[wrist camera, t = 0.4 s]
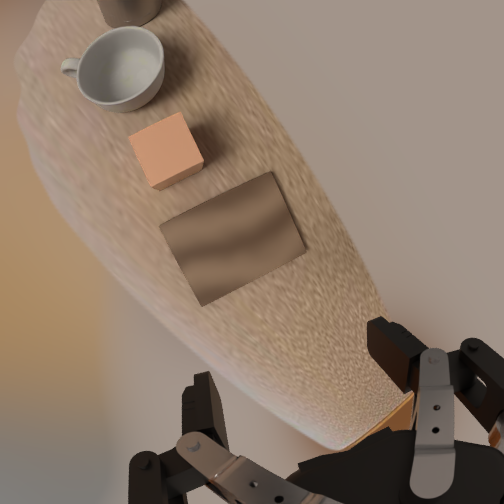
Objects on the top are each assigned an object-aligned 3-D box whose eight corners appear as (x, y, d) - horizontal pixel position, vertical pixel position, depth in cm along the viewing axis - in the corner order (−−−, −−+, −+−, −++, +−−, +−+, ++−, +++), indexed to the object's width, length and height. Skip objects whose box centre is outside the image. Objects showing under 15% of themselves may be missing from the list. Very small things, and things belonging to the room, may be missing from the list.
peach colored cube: (141, 151, 35) (128, 137, 27) (182, 130, 36) (180, 111, 28) (159, 191, 37) (151, 187, 28) (201, 170, 37) (204, 160, 29)
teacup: (180, 64, 34) (179, 36, 26) (146, 131, 35) (136, 113, 27) (98, 44, 31) (84, 17, 23) (64, 106, 32) (41, 88, 24)
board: (159, 225, 37) (158, 226, 36) (268, 172, 39) (270, 171, 38) (201, 304, 40) (201, 306, 39) (303, 250, 42) (306, 252, 41)
